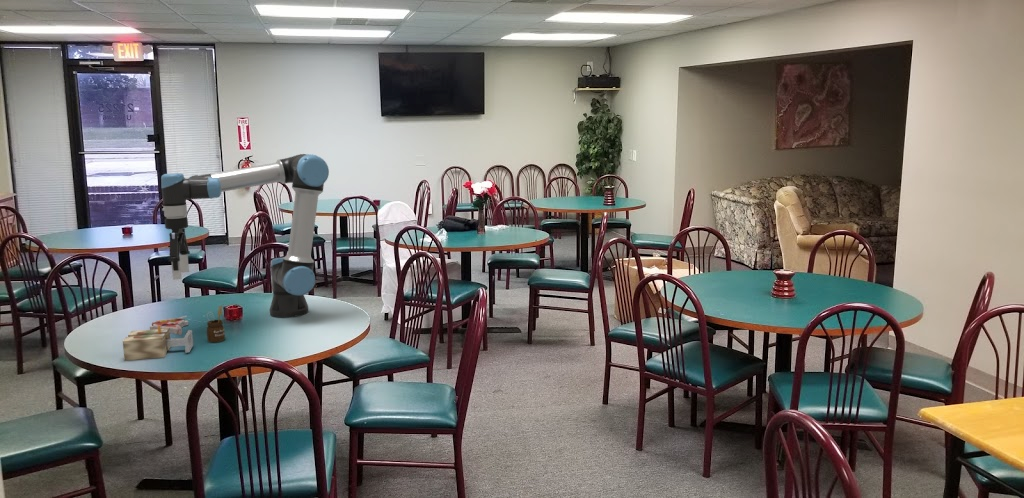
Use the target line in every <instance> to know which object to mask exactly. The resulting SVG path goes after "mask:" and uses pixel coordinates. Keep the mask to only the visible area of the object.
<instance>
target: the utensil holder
mask: <svg viewBox="0 0 1024 498" xmlns="http://www.w3.org/2000/svg"><path fill="white" fill-rule="evenodd" d="M217 309H218V310H217V315H218V318H217V319H209V317H210V318H212V317H214V314H213V313H212V311H208V313H206V317H207V324H206V326H207V327H206V336H207V337H206V338H207V342H209V343H220V342H223V341H225V340H226V330H225V326H224V321H223V320H222V319H221V315H222V313H223V306H222V305H218V308H217ZM210 313H211V314H210ZM208 314H209V316H208ZM211 315H212V316H211Z"/></svg>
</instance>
